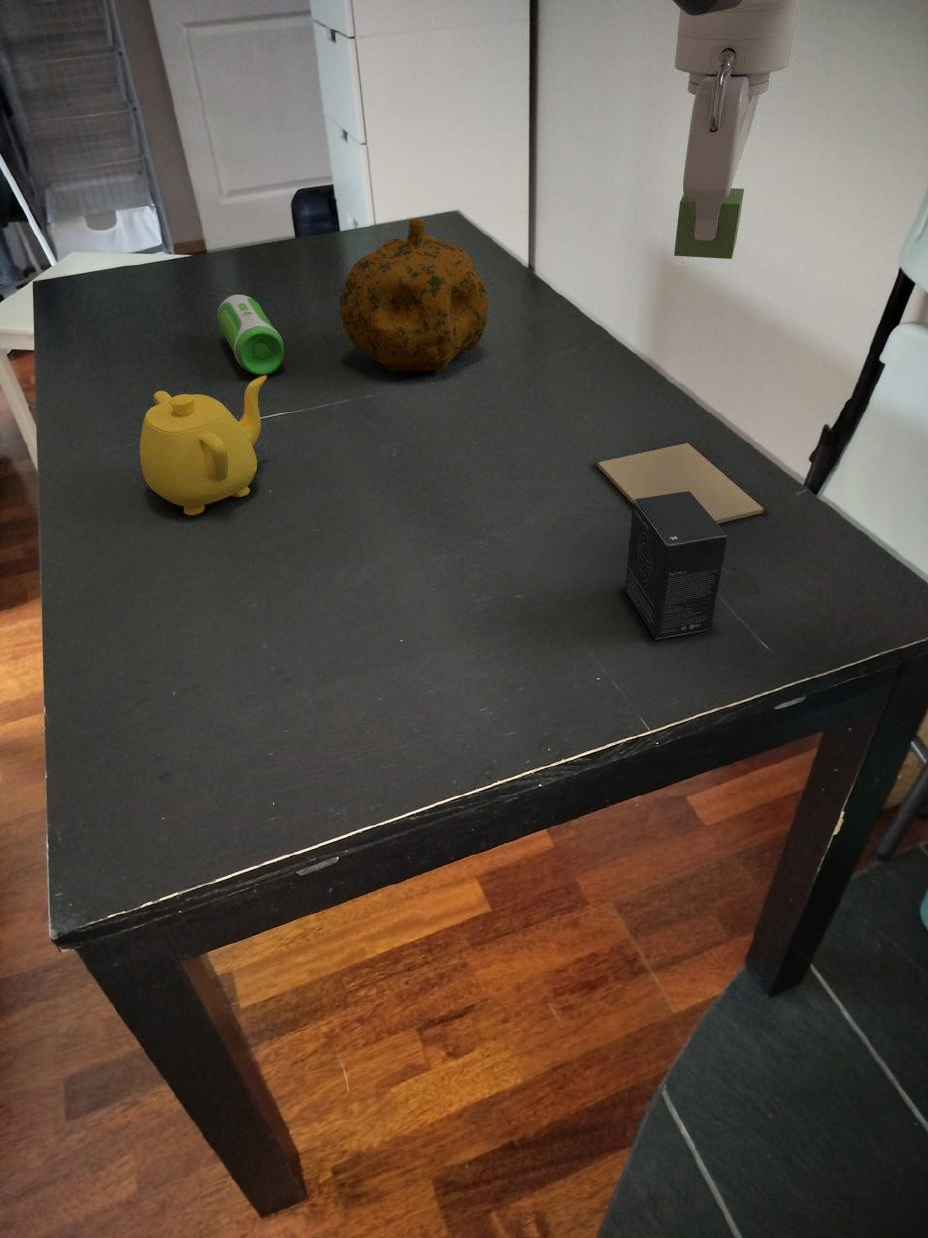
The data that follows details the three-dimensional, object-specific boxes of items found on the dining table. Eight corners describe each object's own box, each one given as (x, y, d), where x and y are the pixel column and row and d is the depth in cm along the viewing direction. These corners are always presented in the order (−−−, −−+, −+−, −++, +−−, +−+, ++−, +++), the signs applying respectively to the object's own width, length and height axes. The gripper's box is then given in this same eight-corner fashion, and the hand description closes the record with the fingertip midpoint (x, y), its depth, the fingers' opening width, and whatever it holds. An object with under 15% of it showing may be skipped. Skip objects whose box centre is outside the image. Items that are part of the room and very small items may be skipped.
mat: (762, 513, 93) (763, 508, 92) (663, 537, 90) (664, 532, 90) (687, 446, 105) (687, 442, 104) (597, 466, 102) (597, 462, 102)
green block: (736, 241, 79) (744, 188, 76) (731, 259, 75) (740, 203, 72) (680, 238, 80) (686, 186, 77) (673, 255, 76) (679, 201, 73)
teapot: (252, 524, 96) (228, 428, 88) (131, 521, 97) (97, 427, 90) (285, 461, 106) (266, 370, 99) (175, 460, 108) (148, 370, 100)
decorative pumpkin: (335, 336, 134) (328, 198, 121) (465, 330, 139) (472, 197, 126) (351, 395, 120) (345, 246, 107) (496, 386, 124) (508, 242, 111)
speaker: (291, 373, 127) (282, 323, 122) (242, 384, 125) (231, 333, 120) (265, 333, 139) (256, 286, 134) (221, 342, 137) (209, 294, 132)
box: (712, 631, 78) (730, 535, 72) (653, 641, 78) (666, 545, 71) (677, 580, 84) (690, 487, 78) (622, 590, 84) (631, 497, 77)
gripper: (768, 61, 59) (735, 267, 68) (781, 24, 74) (752, 198, 83) (675, 61, 61) (655, 262, 70) (706, 25, 76) (686, 195, 84)
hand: (708, 227), depth 76 cm, fingers closed on green block, 5 cm apart
